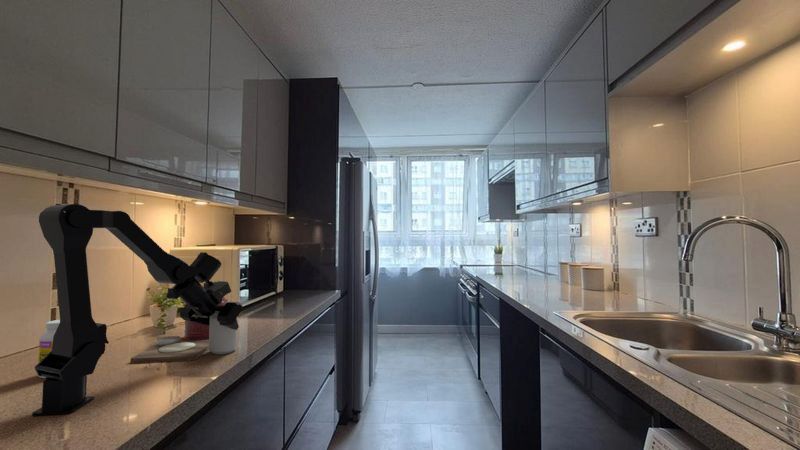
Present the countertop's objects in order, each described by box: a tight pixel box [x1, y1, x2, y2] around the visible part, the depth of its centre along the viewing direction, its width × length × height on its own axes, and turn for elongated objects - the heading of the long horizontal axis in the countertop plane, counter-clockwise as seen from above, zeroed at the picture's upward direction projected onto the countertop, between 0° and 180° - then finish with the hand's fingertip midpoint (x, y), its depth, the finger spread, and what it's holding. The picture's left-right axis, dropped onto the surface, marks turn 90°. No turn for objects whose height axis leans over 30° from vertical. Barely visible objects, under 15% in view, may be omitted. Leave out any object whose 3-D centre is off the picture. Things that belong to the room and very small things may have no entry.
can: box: [208, 314, 239, 355], centre depth 104 cm, size 8×8×12 cm
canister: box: [183, 296, 229, 341], centre depth 121 cm, size 13×13×18 cm
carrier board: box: [130, 335, 209, 364], centre depth 103 cm, size 16×16×3 cm
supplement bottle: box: [37, 319, 60, 379], centre depth 86 cm, size 7×7×13 cm
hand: (227, 327), depth 105 cm, fingers closed on can, 7 cm apart
